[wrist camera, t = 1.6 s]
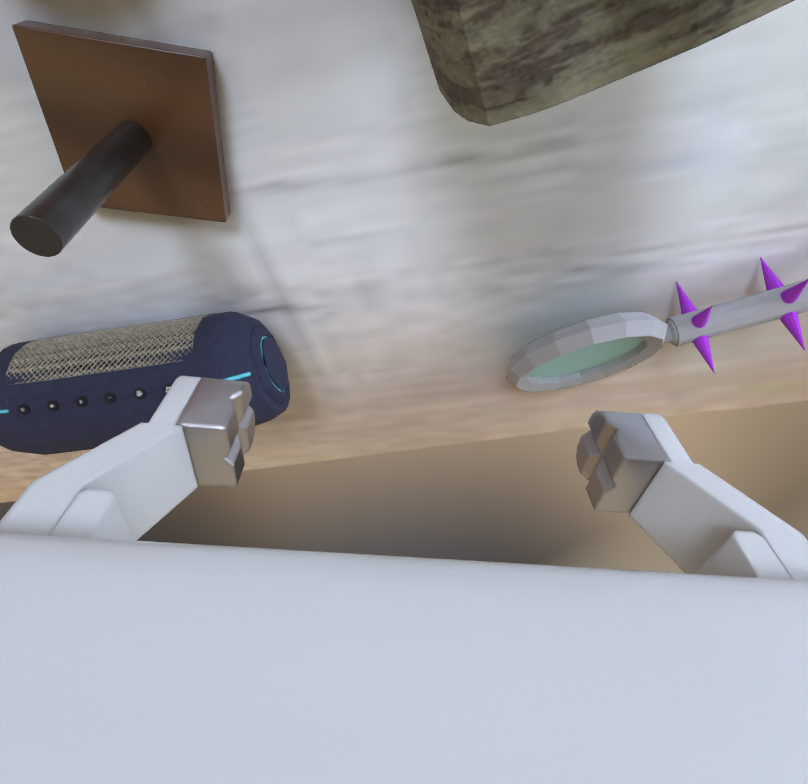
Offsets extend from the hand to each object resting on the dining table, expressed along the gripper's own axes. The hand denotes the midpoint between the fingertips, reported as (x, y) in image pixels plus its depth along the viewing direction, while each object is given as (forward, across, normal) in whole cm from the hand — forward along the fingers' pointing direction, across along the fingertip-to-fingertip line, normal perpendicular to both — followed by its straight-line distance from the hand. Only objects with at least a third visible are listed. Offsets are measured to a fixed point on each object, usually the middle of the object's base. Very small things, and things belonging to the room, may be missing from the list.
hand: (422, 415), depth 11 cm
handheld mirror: (+30, -25, +11) cm, 41 cm away
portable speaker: (+28, +22, +19) cm, 40 cm away
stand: (+26, +18, 0) cm, 31 cm away
